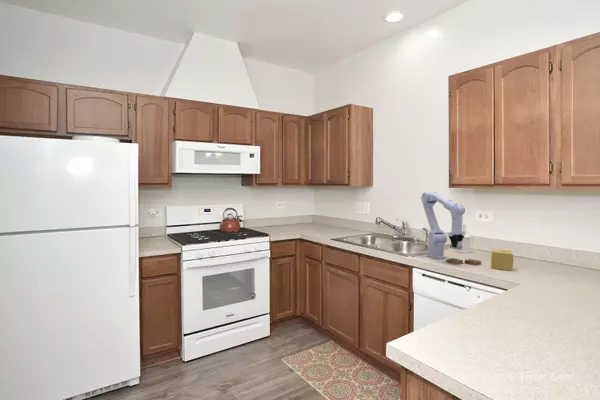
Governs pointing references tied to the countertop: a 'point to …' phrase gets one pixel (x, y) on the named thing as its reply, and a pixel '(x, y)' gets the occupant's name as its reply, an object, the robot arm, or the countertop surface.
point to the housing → (459, 245)
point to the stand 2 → (472, 262)
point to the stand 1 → (454, 261)
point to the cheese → (502, 260)
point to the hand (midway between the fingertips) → (456, 247)
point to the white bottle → (465, 242)
